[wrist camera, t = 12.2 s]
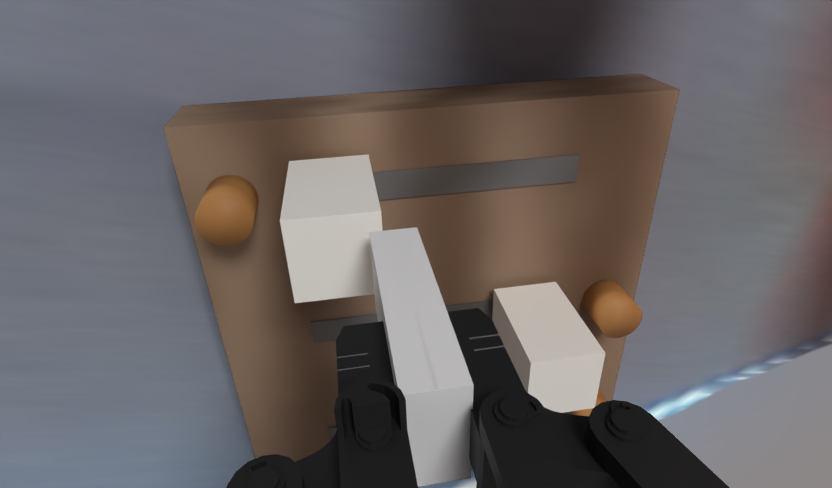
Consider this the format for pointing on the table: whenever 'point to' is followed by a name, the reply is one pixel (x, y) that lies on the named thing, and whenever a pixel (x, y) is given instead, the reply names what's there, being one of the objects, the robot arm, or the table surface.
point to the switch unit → (422, 217)
